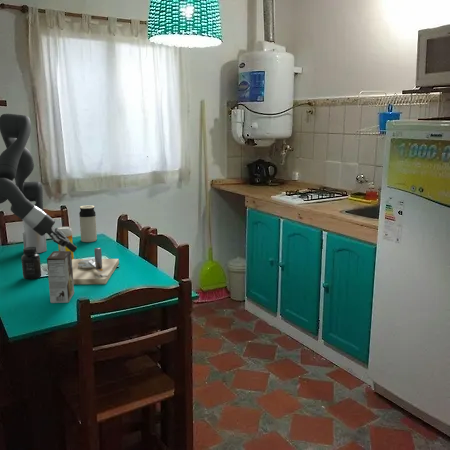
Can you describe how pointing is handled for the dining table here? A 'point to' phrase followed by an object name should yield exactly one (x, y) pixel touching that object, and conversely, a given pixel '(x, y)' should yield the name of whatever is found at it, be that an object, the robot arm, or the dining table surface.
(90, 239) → the travel mug
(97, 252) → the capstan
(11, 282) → the dining table surface
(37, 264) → the supplement bottle
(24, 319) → the dining table surface
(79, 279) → the wooden cutting board
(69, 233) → the yellow white bottle
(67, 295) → the coffee box
